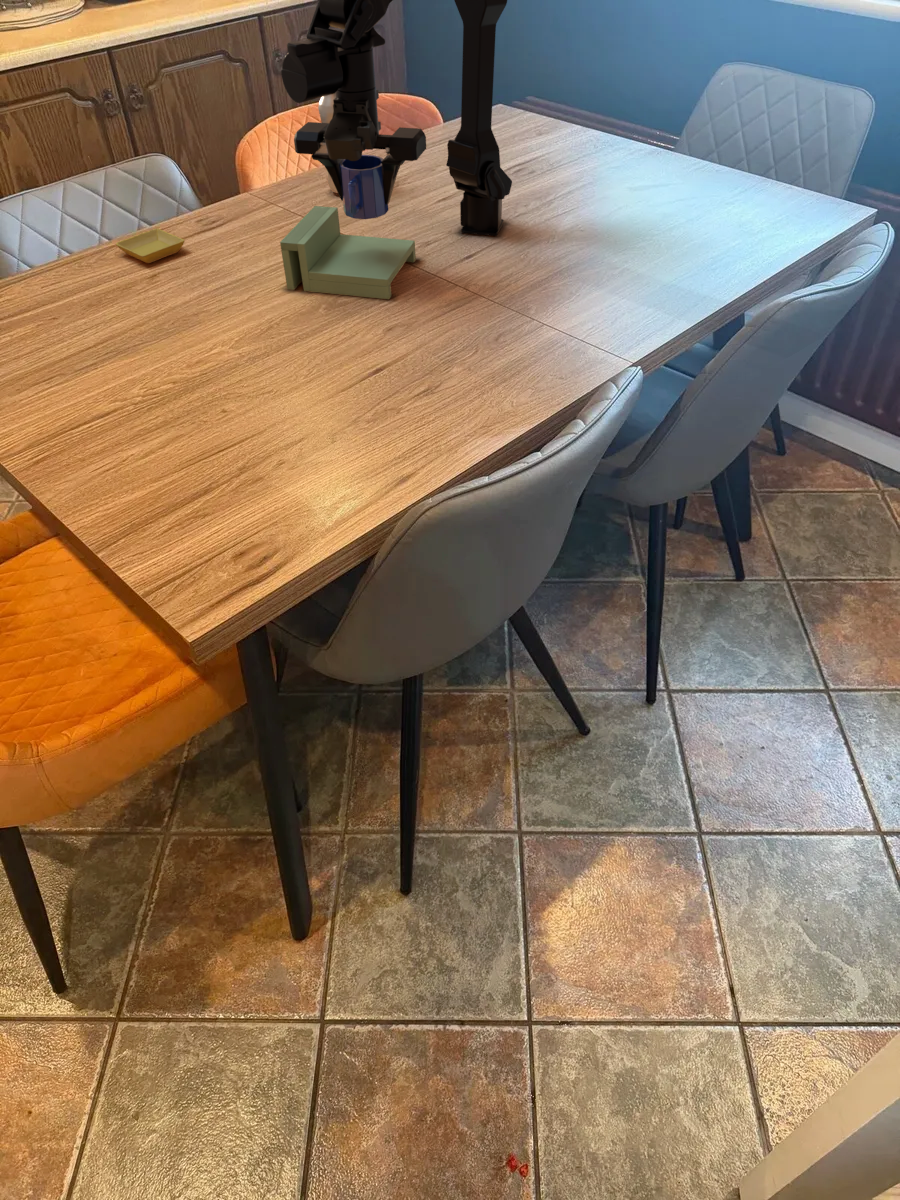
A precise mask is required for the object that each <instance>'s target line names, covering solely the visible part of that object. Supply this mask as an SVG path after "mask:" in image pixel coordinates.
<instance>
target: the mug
mask: <svg viewBox="0 0 900 1200" xmlns="http://www.w3.org/2000/svg"><path fill="white" fill-rule="evenodd" d="M383 159H384V158H383V157H380V156H378V155H373V154H362V156H361V158H360V159H359V160H357V161H350V160H348V159H343V160H342V161H341V162H340V163H339V169H340V178H341V188H342V197H343V201H342V206H343V212H344V214H345V216H346V217H349V218H351V219H356V220H371V219H377V218H380V217H382V216H385V215H386V214H387V213H388V211H389V203H388V204H385V198H384V169H383V166H382V163H381V162H382V160H383Z"/></svg>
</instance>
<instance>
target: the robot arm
mask: <svg viewBox="0 0 900 1200" xmlns="http://www.w3.org/2000/svg"><path fill="white" fill-rule="evenodd" d="M393 2H394V0H318V2H317V4H316V7H315V10H314V12H313V16H312V18H311V21H310V24H309V27H308V30H307V32H306V39H307V40H302V41H297V40H296V41H290V42H287V44H286V49H287V54H286V55H284V56H283V57H284V58H283V60H282V64H281V66H282V67H281V70H280V74H281V79H282V83H283V86H284V87H283V88H284V89H285V91H286V93H287V94H288V96H289V97H290V99H291V100H292V101H293V102H295V103H297V104H301V103H305V102H309V101H313V100H316V99H321V97H324V96H328V95H331V94H334V93H336V98H335V99H334V100H333V103H334V104H333V110H334V112H333V117H332V119H331V121H330V123H322V122H313V121H307V122H306V123H305V124H304V125H302V126H301V127H300V128H299V129H298V130H297V131H295V134H294V138H293V143H294V151H295V153H297V154H299V155H300V154H302V155H311V159H312V160H314V161H318V162H319V163H320V164H322V165H323V166H324V167H325V169H326V172H327V171H328V173H329V174H330V176H331V178H332V181H333V183H334V185H335V187H336V189H337V192H338V193H337V194H338V196H339V199H340V200H341V202H343V197H342V188H341V178H340V169H339V163H340V162H341V161H342V160H343V159H348V160H350V161H357V160H359V159H360V158H361V156H362V155H363V152H364V151H366V150H367V151H368V150H370V151H373V150H385V153H386V156H385V157H384V158H383V160H382V162H381V163H382V166H383V169H384V198H385V204H388V205H389V203H390V201H391V198H392V194H393V191H394V187H395V184H396V181H397V177H398V174H399V170H400V167H401V166H402V165H403V164H404V163H405V162H414V161H418V159H419V158H420V157H421V156H422V154H423V153H424V152H425V151H426V150H427V136H426V134H425V132H424V130H423V129H422V128H419V127H416V128H415V127H401V126H399V127H398V128H397V129H396V130H395V131H394V132H393V134H383V133H381V134H380V131H381V130H382V121H379V116H378V115H379V114H378V99H379V98H380V96H379V95H380V93H379V89H377V85H376V75H375V73H376V72H375V62H374V61H375V60H374V59H375V58H374V48H377V47H382V46H384V45H385V44H386V39H385V38H384V37H383V36H381V34H380V33H378V32H377V30H376V29H375V26H376V25H377V24H378V23H379V22H380V21H382V19H383V18H384V17H385V16H386V14H387V11H388V8H389V7H390V5H391V4H392V3H393ZM454 3H455V6H456V9H457V11H458V14H459V16H460V19H461V21H462V64H461V65H462V66H461V67H462V68H461V69H462V70H461V104H460V105H461V106H460V128H459V130H458V131H457V133H456V135H455V137H454V139H449V140H448V141H447V145H446V146H447V147H446V148H447V160H446V167H447V168H448V170H449V175H450V177H451V178H452V179H453V183H454V186H455V188H456V190H458V191H463V193H462V197H463V198H462V199H461V201H460V203H459V209H460V213H459V215H460V217H459V220H460V226H461V228H460V233H461V234H468V235H478V236H479V235H480V236H490V237H497V236H498V235H499V232H500V231H501V228H502V227H503V225H504V223H505V220H504V219H503V218H502V215H503V200H504V199H505V197H507V196H509V195H510V194H511V193H510V192H511V190H512V186H513V180H512V179H511V178H510V177H509V176H508V174H507V173H506V172H505V171H504V170H503V169H502V167H501V157H500V156H501V155H500V147H499V145H498V142H497V140H496V136H495V134H494V132H493V130H492V121H493V120H492V119H493V95H494V77H495V76H494V74H495V55H496V53H495V52H496V33H497V32H496V31H497V23H498V21H499V20H500V18H501V15H502V14H503V12H504V10H505V8H506V6H507V5H508V0H454ZM331 27H332V28H334V29H332V28H331ZM335 28H336V29H340V30H336V29H335ZM341 30H343V31H341Z"/></svg>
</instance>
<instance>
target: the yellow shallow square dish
mask: <svg viewBox="0 0 900 1200" xmlns="http://www.w3.org/2000/svg"><path fill="white" fill-rule="evenodd" d="M185 241H186V240H185V239H184V238H182V237H179V236H177V235H175V234H172V233H169V232H168V231H166V230H163V229H161V228H154V229H150V230H148V231H145V232H142V233H138V234H137V235H134V236H132V237H129V238H126V239H122V240H120V241H117V242H116V243H115V246H117V247H118V249H120V250H122V252H124V253H125V254H127V255H128V256H131V257H133V258H135V259H137V260H139V261H142V262H143V263H146V264H151V263H153V262H156V261H158V260H162V259H163V258H166V257H168V256H171V255H174V254H176V253H178V252H179V251H180V250H181V249H182V247H183V246H184V244H185Z"/></svg>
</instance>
